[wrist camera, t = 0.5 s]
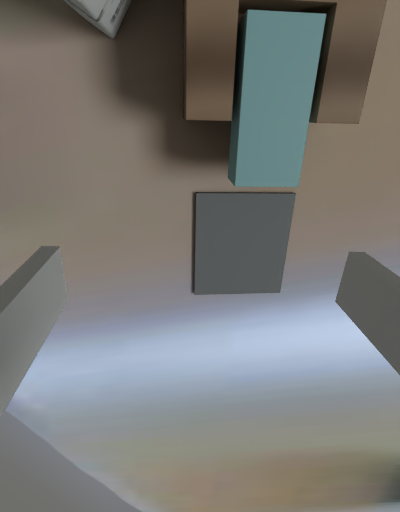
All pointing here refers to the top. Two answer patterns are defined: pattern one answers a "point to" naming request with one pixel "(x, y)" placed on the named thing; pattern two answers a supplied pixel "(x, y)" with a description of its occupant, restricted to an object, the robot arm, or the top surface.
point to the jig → (329, 66)
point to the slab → (273, 96)
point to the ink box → (102, 13)
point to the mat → (241, 241)
